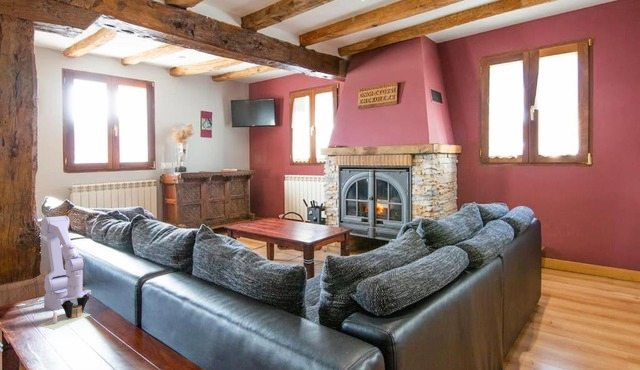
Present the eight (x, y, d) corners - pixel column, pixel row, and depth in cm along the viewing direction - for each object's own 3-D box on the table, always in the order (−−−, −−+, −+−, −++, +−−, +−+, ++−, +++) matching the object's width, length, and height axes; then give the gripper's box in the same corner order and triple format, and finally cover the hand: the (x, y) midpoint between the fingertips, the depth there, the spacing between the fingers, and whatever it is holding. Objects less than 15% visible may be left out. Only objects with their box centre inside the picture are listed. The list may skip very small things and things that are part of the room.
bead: (65, 316, 170) (65, 308, 170) (75, 312, 175) (76, 304, 175) (73, 319, 168) (73, 310, 168) (84, 314, 173) (84, 306, 173)
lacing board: (37, 327, 161) (37, 313, 161) (74, 313, 177) (75, 300, 177) (54, 332, 158) (54, 317, 158) (91, 317, 174) (91, 304, 174)
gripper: (66, 291, 163) (65, 322, 164) (96, 281, 176) (95, 310, 177) (54, 288, 165) (53, 319, 166) (84, 279, 179) (84, 307, 180)
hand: (74, 314), depth 172 cm, fingers closed on bead, 5 cm apart
